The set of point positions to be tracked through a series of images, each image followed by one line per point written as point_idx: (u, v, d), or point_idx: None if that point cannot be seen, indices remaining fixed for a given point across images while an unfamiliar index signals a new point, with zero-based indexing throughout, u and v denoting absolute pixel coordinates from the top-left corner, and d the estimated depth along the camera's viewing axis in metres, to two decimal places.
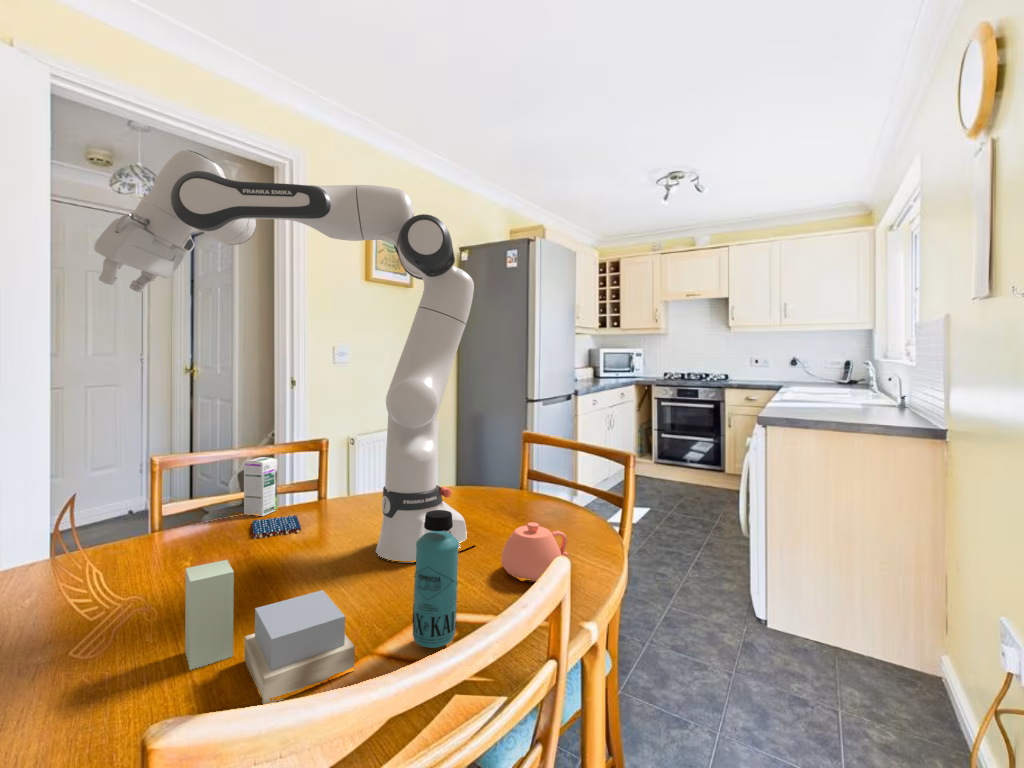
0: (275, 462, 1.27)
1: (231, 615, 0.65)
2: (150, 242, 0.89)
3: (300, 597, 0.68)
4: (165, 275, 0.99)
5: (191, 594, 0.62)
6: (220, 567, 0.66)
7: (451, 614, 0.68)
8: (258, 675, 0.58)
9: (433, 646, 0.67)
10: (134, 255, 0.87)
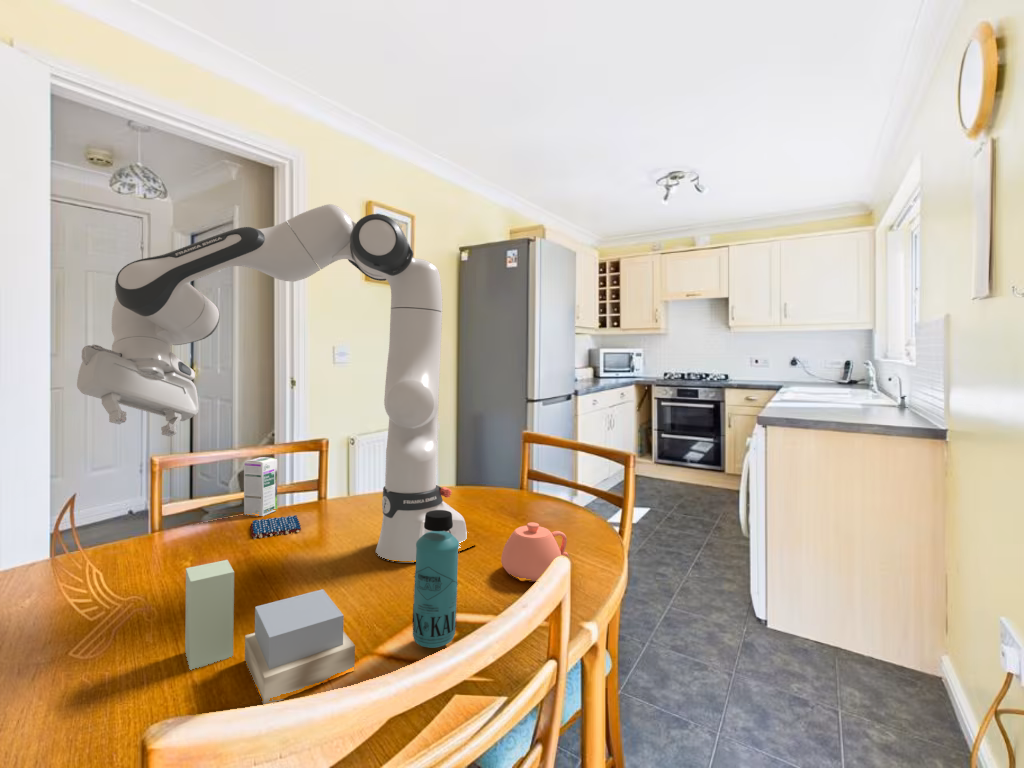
0: (275, 462, 1.27)
1: (231, 615, 0.65)
2: (134, 368, 0.84)
3: (300, 596, 0.68)
4: (189, 409, 0.92)
5: (191, 594, 0.62)
6: (220, 567, 0.66)
7: (451, 614, 0.68)
8: (258, 674, 0.58)
9: (433, 646, 0.67)
10: (123, 381, 0.81)
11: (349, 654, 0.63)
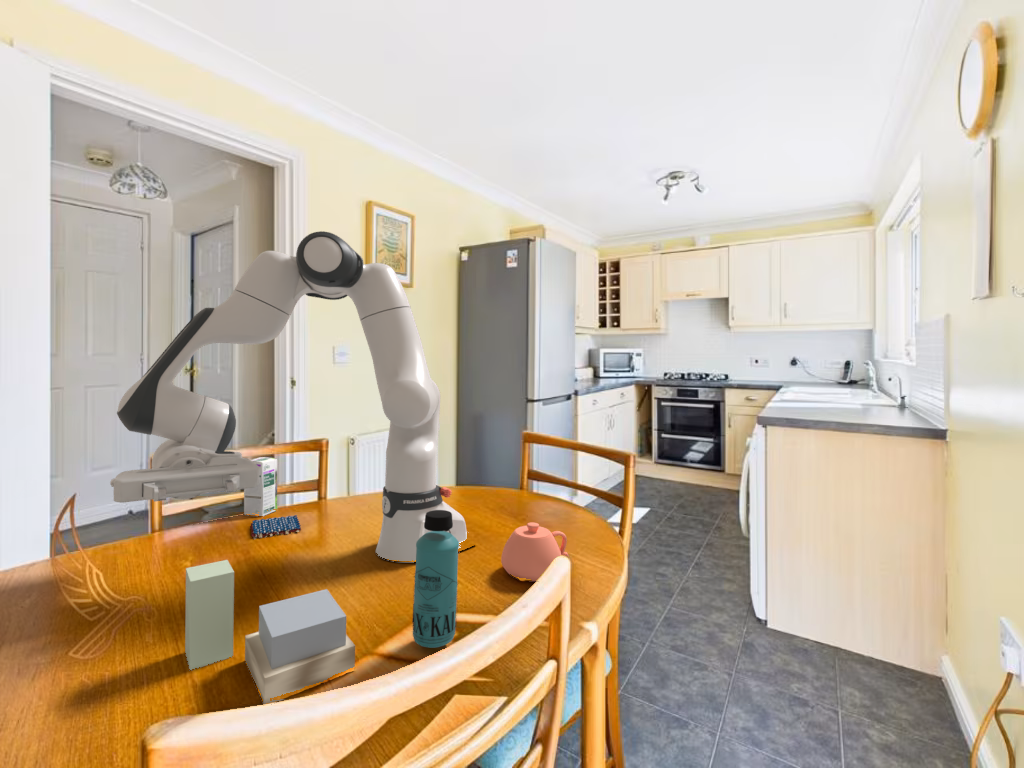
0: (275, 462, 1.27)
1: (231, 615, 0.65)
2: (166, 468, 0.80)
3: (304, 596, 0.68)
4: (244, 468, 0.83)
5: (191, 594, 0.62)
6: (220, 567, 0.66)
7: (451, 614, 0.68)
8: (258, 674, 0.58)
9: (433, 646, 0.67)
10: (153, 474, 0.76)
11: (349, 654, 0.63)
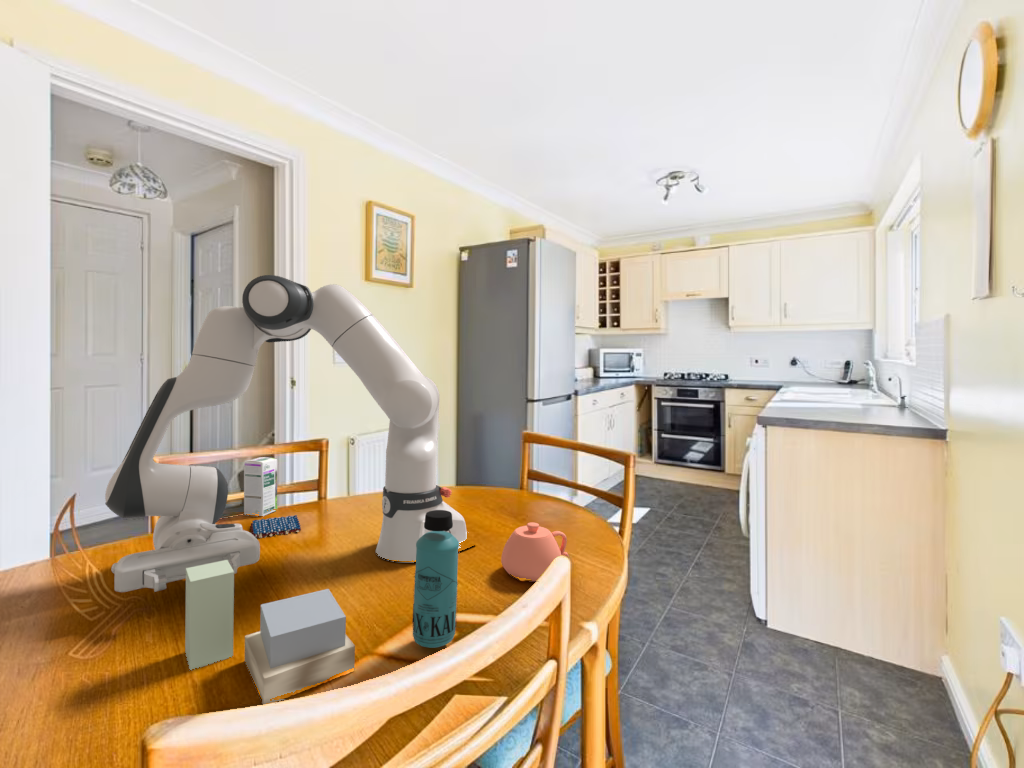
0: (275, 462, 1.27)
1: (231, 615, 0.65)
2: (167, 549, 0.80)
3: (305, 595, 0.68)
4: (244, 544, 0.83)
5: (191, 594, 0.62)
6: (220, 567, 0.66)
7: (451, 614, 0.68)
8: (258, 675, 0.58)
9: (433, 646, 0.67)
10: (154, 559, 0.76)
11: (349, 654, 0.63)
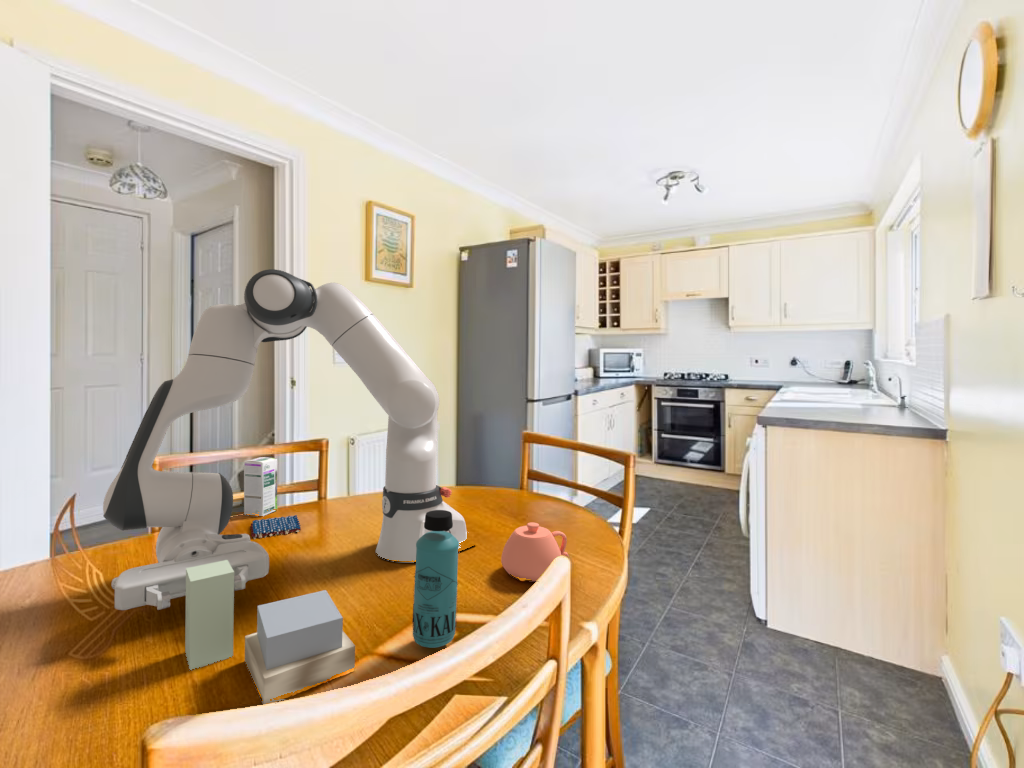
0: (275, 462, 1.27)
1: (231, 615, 0.65)
2: (171, 563, 0.75)
3: (302, 596, 0.68)
4: (253, 557, 0.78)
5: (191, 594, 0.62)
6: (220, 567, 0.66)
7: (451, 614, 0.68)
8: (258, 675, 0.58)
9: (433, 646, 0.67)
10: (156, 573, 0.71)
11: (349, 654, 0.63)
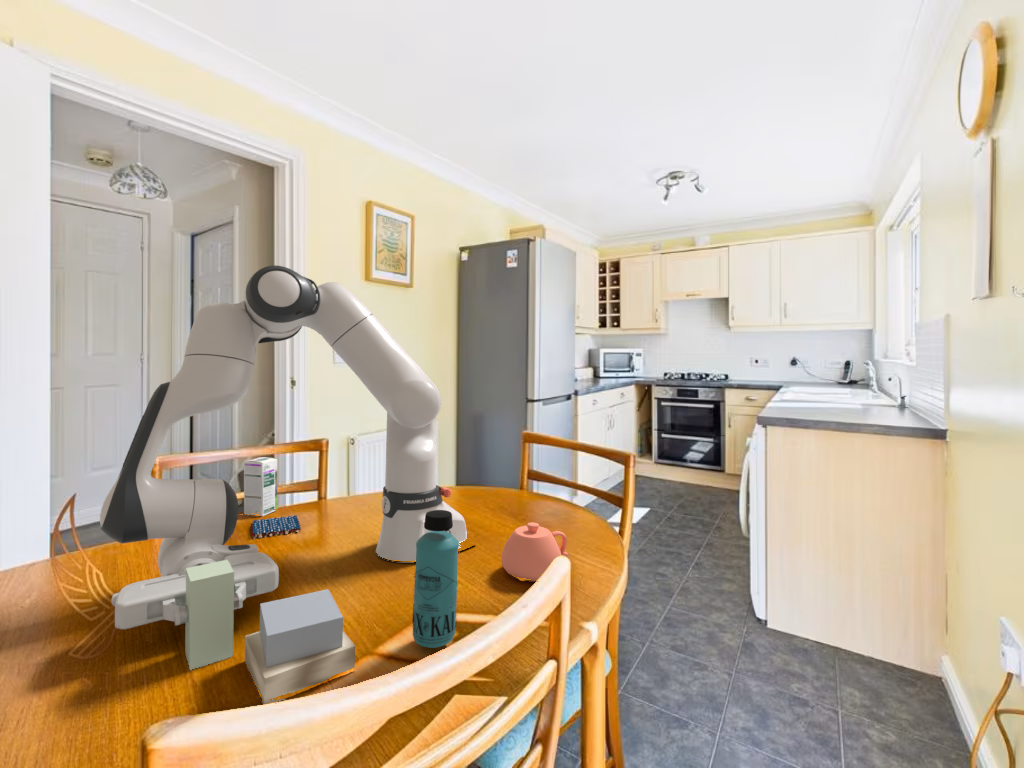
0: (275, 462, 1.27)
1: (231, 615, 0.65)
2: (174, 576, 0.71)
3: (305, 595, 0.68)
4: (262, 570, 0.74)
5: (191, 594, 0.62)
6: (220, 567, 0.66)
7: (451, 614, 0.68)
8: (258, 675, 0.58)
9: (433, 646, 0.67)
10: (160, 589, 0.67)
11: (349, 654, 0.63)
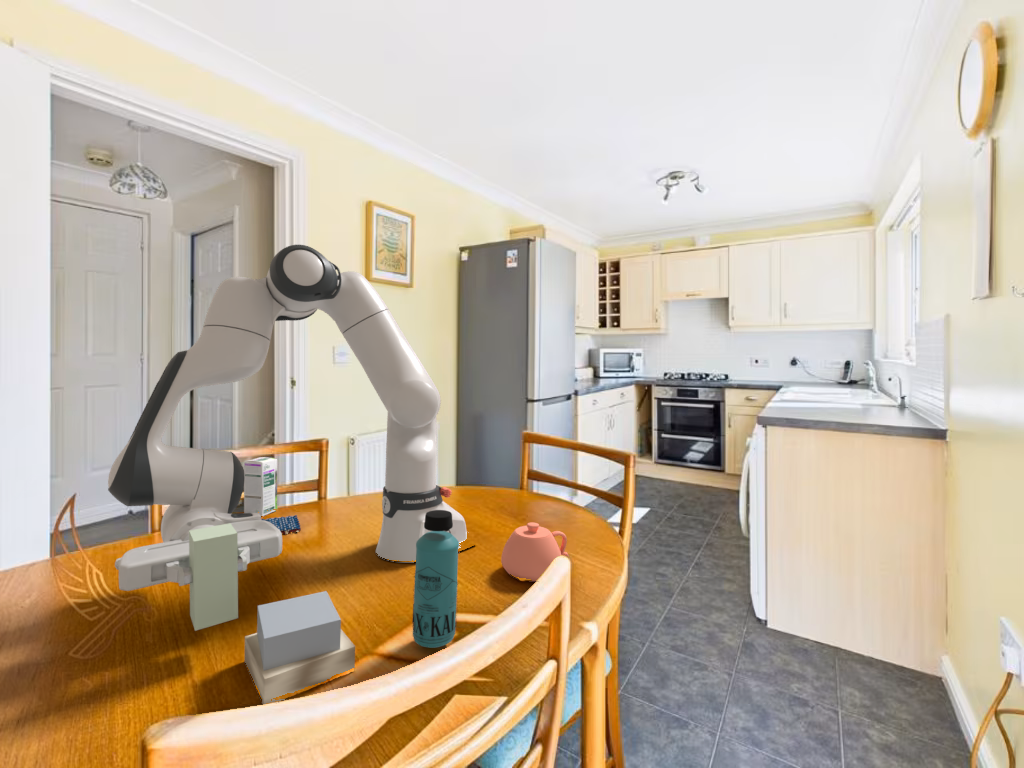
0: (275, 462, 1.27)
1: (235, 576, 0.65)
2: (178, 542, 0.70)
3: (303, 597, 0.68)
4: (265, 535, 0.74)
5: (195, 554, 0.62)
6: (224, 529, 0.66)
7: (451, 614, 0.68)
8: (258, 675, 0.58)
9: (433, 646, 0.67)
10: (163, 552, 0.67)
11: (349, 655, 0.63)
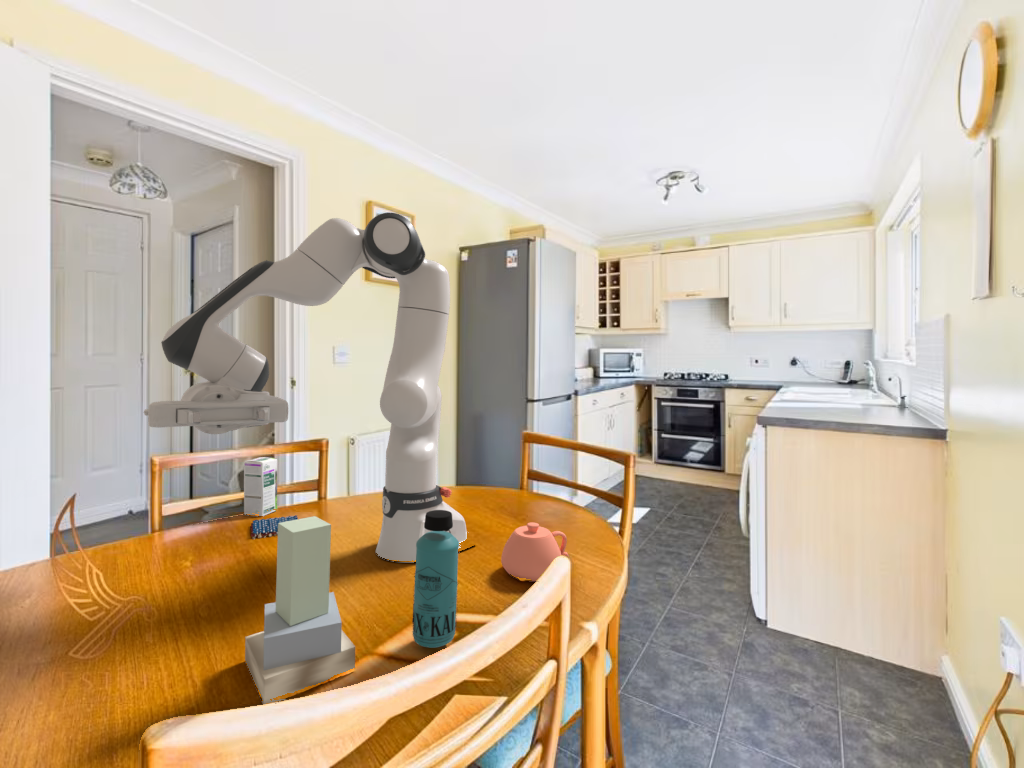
0: (275, 462, 1.27)
1: (327, 569, 0.63)
2: (198, 401, 0.81)
3: None
4: (274, 402, 0.84)
5: (293, 546, 0.60)
6: (314, 521, 0.64)
7: (451, 614, 0.68)
8: (258, 676, 0.58)
9: (433, 646, 0.67)
10: None
11: (349, 655, 0.63)
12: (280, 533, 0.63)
